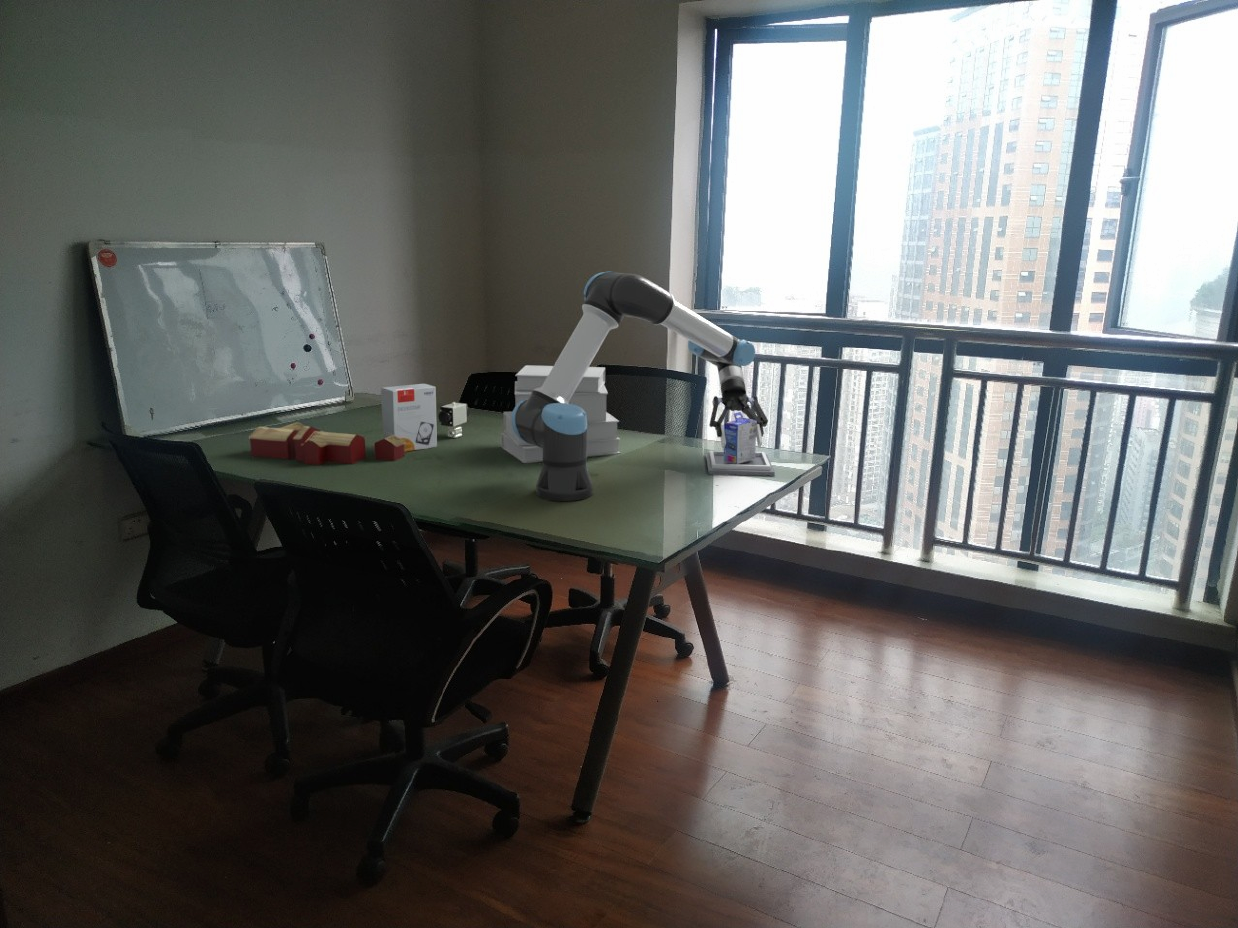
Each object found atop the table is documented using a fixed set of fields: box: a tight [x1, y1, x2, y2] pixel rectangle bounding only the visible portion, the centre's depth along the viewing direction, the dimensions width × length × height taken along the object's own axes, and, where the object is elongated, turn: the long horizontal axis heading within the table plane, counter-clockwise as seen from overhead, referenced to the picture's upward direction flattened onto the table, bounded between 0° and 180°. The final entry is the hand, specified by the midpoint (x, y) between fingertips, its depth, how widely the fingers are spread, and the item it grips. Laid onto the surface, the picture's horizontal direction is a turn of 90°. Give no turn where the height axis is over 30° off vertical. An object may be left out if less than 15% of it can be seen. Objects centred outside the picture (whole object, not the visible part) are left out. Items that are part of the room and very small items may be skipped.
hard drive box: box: [380, 383, 438, 453], centre depth 274 cm, size 16×8×20 cm, turn 131°
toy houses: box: [248, 421, 407, 466], centre depth 264 cm, size 45×20×10 cm, turn 74°
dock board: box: [705, 450, 776, 477], centre depth 261 cm, size 19×21×2 cm
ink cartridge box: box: [723, 411, 757, 464], centre depth 259 cm, size 10×6×14 cm, turn 137°
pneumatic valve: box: [438, 401, 470, 439], centre depth 291 cm, size 6×12×12 cm, turn 155°
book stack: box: [500, 365, 622, 464], centre depth 274 cm, size 30×35×26 cm
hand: (742, 445), depth 257 cm, fingers closed on ink cartridge box, 10 cm apart
